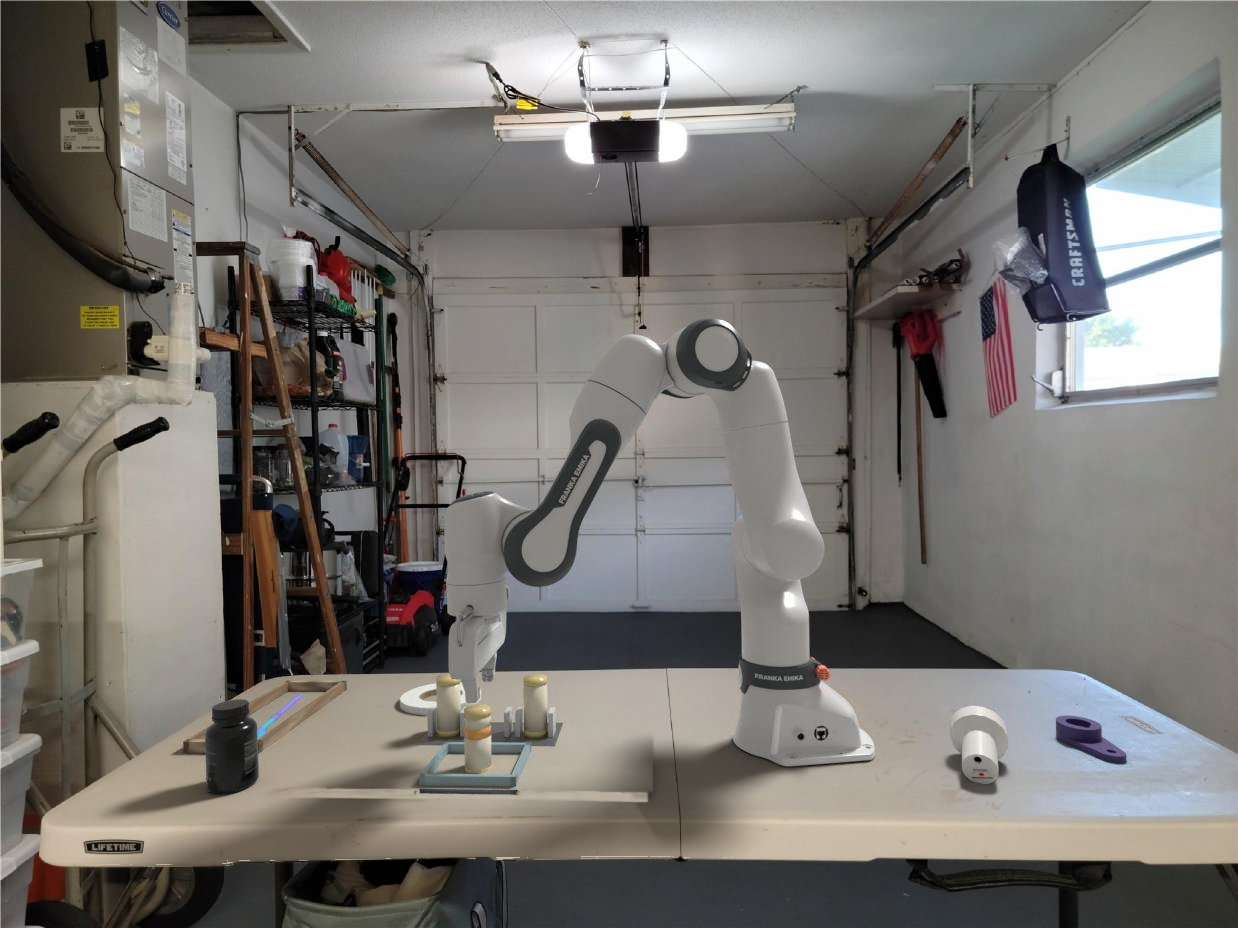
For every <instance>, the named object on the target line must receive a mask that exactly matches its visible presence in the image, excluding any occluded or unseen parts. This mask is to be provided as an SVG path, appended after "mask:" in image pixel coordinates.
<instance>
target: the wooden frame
mask: <svg viewBox="0 0 1238 928" xmlns="http://www.w3.org/2000/svg"><path fill="white" fill-rule="evenodd" d="M347 683H348V682H347V680H285V681H284V682H282V683H280V684H278V685H277V686H276V687H275V686H274V688H272V689H270V690H269V691H267V692H265V693H264V694H262V695H260V696H258V697H256V698H255V699H254V700H251V701H250V702H249V710H250V714H249V715H248V717H250V715H252V714H254V713H256V712H257V711H259V710H260V709H262V708H263V707H265V706H267V705H268V704H270V703H272V702H273V701H274V700H276V699H278V698H279V697H282V695H285V694H286V693H288V692H289V691H291V692H293V691H295V692H296V691H299V692H302V691H304V692H305V691H306V692H309V691H310V692H313V691H314V692H317V691H318V692H324V691H325V692H324V693H322V694H320V695H319V696H318V697H316V698H315V699H313V700H312V701H311V702H310V703H308V704H306V705H305V706H303V707H302V708H300V709H299V710H297V711H296V712H295V713H293V714H292V715H290V716H289V717H287V718H286V719H285V720H283V721H282V722H280V723H279V724H278V725H276V726H274V727H273V728H272V729H270V730H269V731H268V732H267V733H266V734H264V735H263V736H262V737H260V738H259V739H258V754H260V753H261V752H263V751H264V750H266V749H267V748H269V747H270V746H271V745H272V744H274V743H276V742H277V741H278V740H279V739H281V738H282V737H283V736H285V735H286V734H288V733H289V732H291V731H292V730H293V729H295V728H296V727H297V726H299V725H300V724H302V723H303V722H304V721H305V720H307V719H308V718H309V717H311V716H312V715H314V714H315V713H316V712H317V711H319V710H321V709H322V708H323V707H325V706H326V705H327V704H328V703H330V702H331V701H333V700H334V699H335V698H337V697H338V696H340V695H341V694H342V693H344V692H345V691H347V690H348V687H347V686H348V685H347ZM208 727H209V726H207V727H205V728H204V729H202V730H201V731H199V732H197V733H195V734H193V735H191V737H189V738H187V739H185V740H184V741H183V742H182V743H183V745H182V749H183V750H182V752H183V753H191V754H192V753H194V754H195V753H199V754H202V753H204V754H205V733H206V730H207V729H208Z"/></svg>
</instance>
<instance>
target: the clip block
mask: <svg viewBox="0 0 1238 928" xmlns="http://www.w3.org/2000/svg"><path fill="white" fill-rule="evenodd" d="M506 707H507V708H506V709H505V711H504V712H503V721H491V742H503V743H531V747H555V746H556V744H557V741H558V739H559V735H560V733H561V730H562V728H563V725H564V722H556V721H557V717H556V716H557V714H556V711H557V710H556V706H551V707H550V708H549V710H548V712H547V717H548V734H547V735H546V736H544V737H541V738H528V737H526V736H524V706H518V707H517V709H516V710H515V713H514V715H515V716H514V717H515V719H514V721H513V718H514V717H513V706H506ZM464 708H465V707H464ZM427 714H428V716H427V731H426V732H425V733H424V735H423V736H422V737H421V738H420V739H419V740H418V742H417V743H416V744H415V746H442V745H443V744H444V743H445V742H464V709H463V710H461V712H460V734H459V735H457V736H454V737H448V738H443V737H439V736H438V735H437V706H433V707H432V708H431V709H430V711H429V712H428V713H427Z"/></svg>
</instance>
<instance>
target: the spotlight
mask: <svg viewBox="0 0 1238 928" xmlns="http://www.w3.org/2000/svg"><path fill="white" fill-rule="evenodd" d="M949 724H950V725H949V727H950V728H949V729H950V731H949V734H950V736H949V737H950V741H951V743H952V746H953V747H954V749H956V751H957V752H958V753H960V754H961V769H962V772H963V774H964V776H965V777H966V778H968V780H969V781H971V782H974V783H977V784H978V783H979V784H984V785H989V784H991V783H993V782H995V781H997V778H999V760H1000V758H1003V757H1004V756H1005V754H1006V752H1007V751H1008V749H1009V733H1008V727H1007V726H1006V723H1005V722H1004V719H1002V718H1001V716H999V715H998V713H996V712H995V711H993V710H991V709H989V708H986V707H985V706H978V705H969V706H965V707H961V708H960V709H958V710H957V711H955V712H954V713H953V715H952V717H951V718H950V722H949Z"/></svg>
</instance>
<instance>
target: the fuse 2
mask: <svg viewBox="0 0 1238 928" xmlns="http://www.w3.org/2000/svg"><path fill="white" fill-rule="evenodd" d="M522 682H523V687H522V688H523V721H524V736H526V737H528V738H541V737H544V736H546V735H547V734H548V676H547V675H546V674H540V673H533V674H528V675H525V676H524V677H523V678H522Z"/></svg>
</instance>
